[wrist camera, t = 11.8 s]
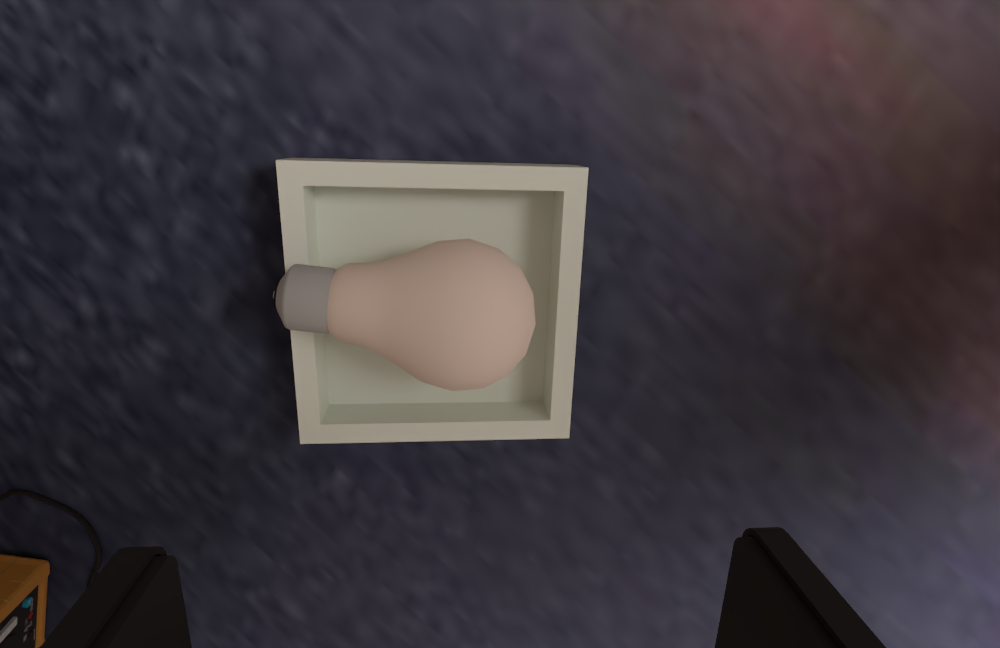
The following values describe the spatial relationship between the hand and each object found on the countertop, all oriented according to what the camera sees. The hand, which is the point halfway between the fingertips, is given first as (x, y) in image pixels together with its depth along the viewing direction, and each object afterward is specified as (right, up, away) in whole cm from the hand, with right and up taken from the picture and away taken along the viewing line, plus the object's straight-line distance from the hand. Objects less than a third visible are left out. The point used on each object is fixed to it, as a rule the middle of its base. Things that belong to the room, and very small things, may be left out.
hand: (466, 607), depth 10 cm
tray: (-3, +6, +19) cm, 20 cm away
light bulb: (-4, +6, +17) cm, 19 cm away
